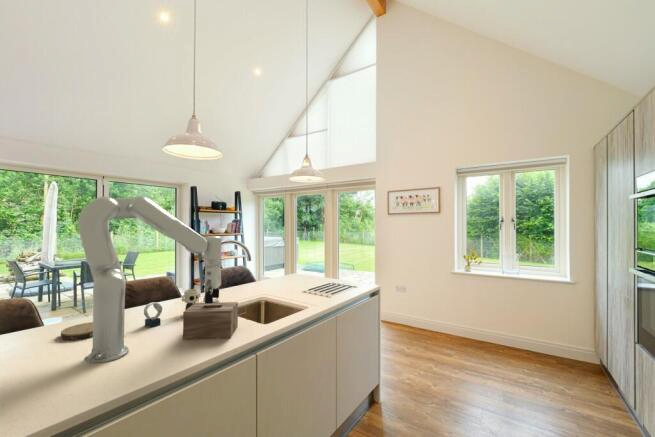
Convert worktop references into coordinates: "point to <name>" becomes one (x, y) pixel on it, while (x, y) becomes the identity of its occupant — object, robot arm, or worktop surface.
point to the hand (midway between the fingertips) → (212, 300)
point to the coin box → (210, 320)
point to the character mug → (190, 297)
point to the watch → (153, 320)
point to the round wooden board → (78, 332)
